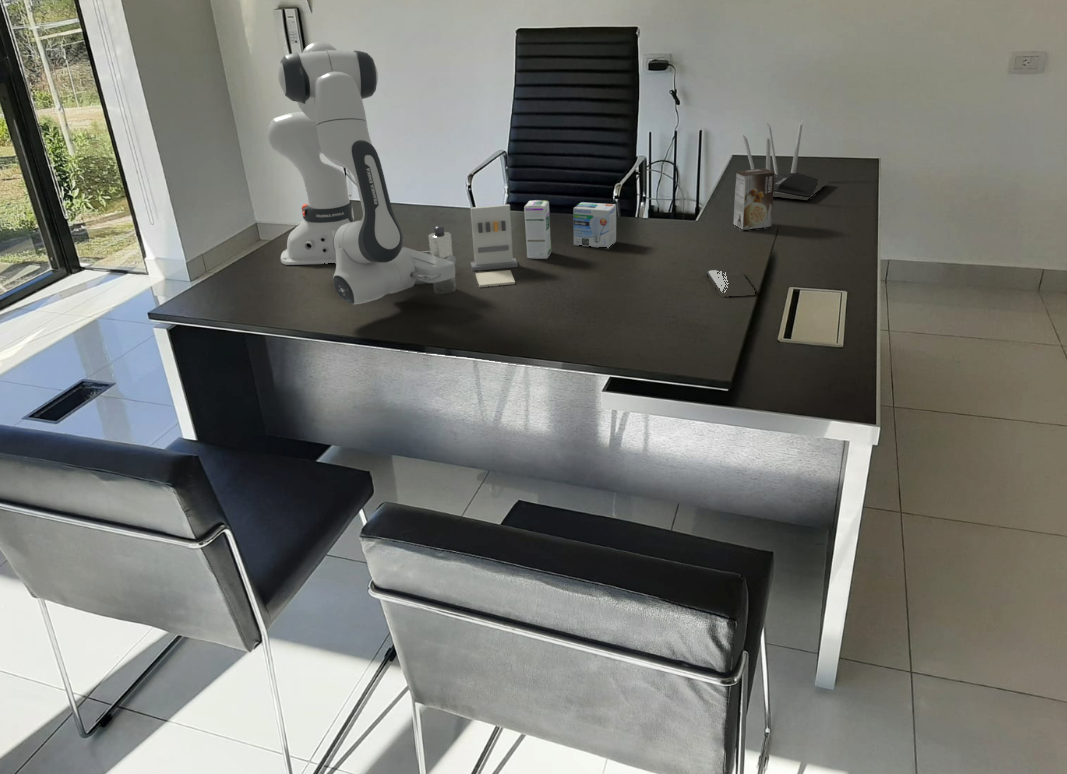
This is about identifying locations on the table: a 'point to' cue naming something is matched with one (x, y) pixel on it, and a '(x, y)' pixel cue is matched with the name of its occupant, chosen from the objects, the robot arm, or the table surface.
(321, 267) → the table surface
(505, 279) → the pad
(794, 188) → the wireless router
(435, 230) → the metal bottle
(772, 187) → the coffee box
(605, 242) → the light bulb box
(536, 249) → the syrup box
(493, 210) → the breaker panel
